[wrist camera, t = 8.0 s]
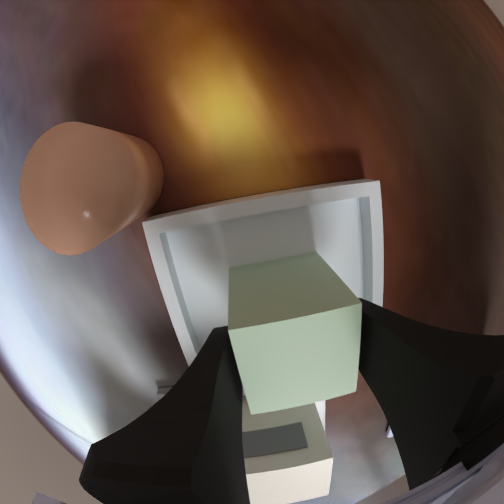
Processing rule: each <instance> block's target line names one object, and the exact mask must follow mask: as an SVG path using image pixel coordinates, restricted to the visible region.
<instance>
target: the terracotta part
mask: <svg viewBox="0 0 504 504" xmlns="http://www.w3.org/2000/svg"><path fill="white" fill-rule="evenodd" d="M163 183H164V170H163V165H162V161H161V159H160V156H159V155H158V153H157V151H156V150H155V149H154V147H153V146H152V145H151V144H149V143H148V142H147V141H145V140H143V139H141V138H139V137H136V136H133V135H129V134H125V133H122V132H118V131H114V130H110V129H106V128H102V127H98V126H94V125H90V124H86V123H82V122H65V123H61V124H58V125H56V126H54V127H52V128H50V129H49V130H47V131H46V132H45V133H44V134H42V135H41V137H40V138H39V139H38V140H37V141H36V142H35V144H34V145H33V146H32V148H31V150H30V151H29V153H28V155H27V158H26V160H25V163H24V166H23V169H22V174H21V180H20V200H21V206H22V211H23V214H24V217H25V220H26V222H27V224H28V226H29V228H30V230H31V231H32V233H33V234H34V236H35V237H36V238H37V239H38V240H39V241H40V242H41V243H42V244H43V245H44V246H45V247H47V248H48V249H50V250H52V251H54V252H56V253H59V254H64V255H77V254H81V253H84V252H87V251H89V250H91V249H92V248H94V247H95V246H97V245H98V244H100V243H101V242H103V241H104V240H106V239H107V238H109V237H110V236H112V235H114V234H115V233H117V232H118V231H120V230H121V229H123V228H125V227H126V226H128V225H129V224H131V223H133V222H134V221H136V220H137V219H139V218H141V217H142V216H144V215H145V214H147V213H148V212H149V211H150V210H151V209H152V208H153V207H154V205H155V204H156V202H157V201H158V199H159V197H160V195H161V192H162V188H163Z"/></svg>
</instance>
